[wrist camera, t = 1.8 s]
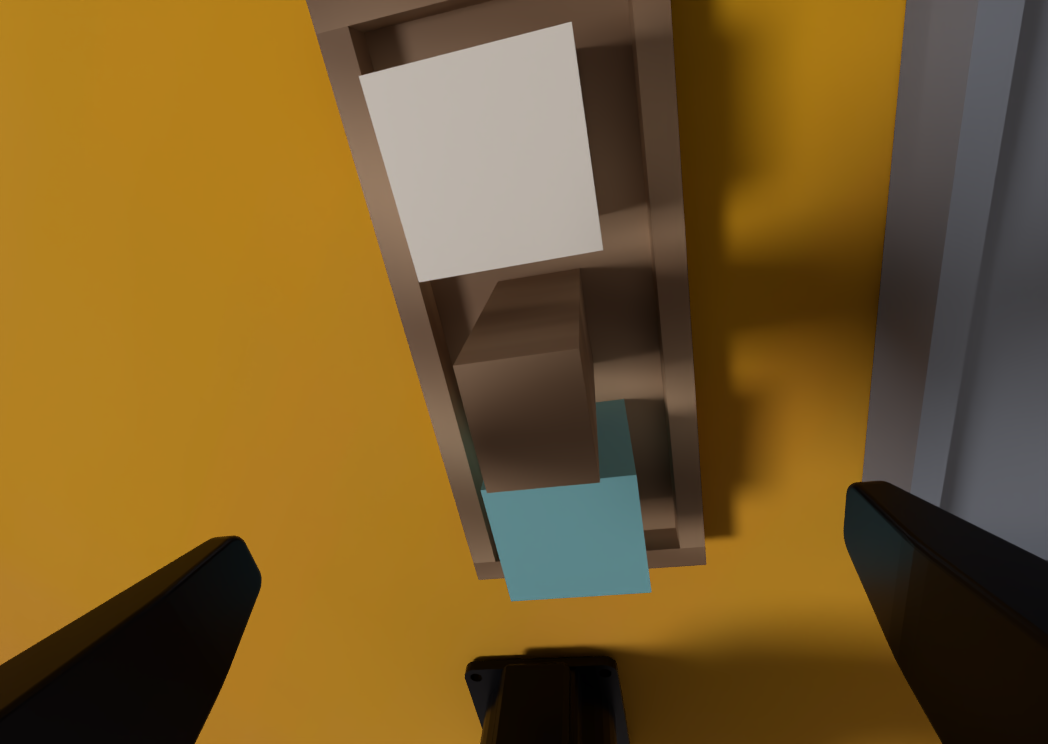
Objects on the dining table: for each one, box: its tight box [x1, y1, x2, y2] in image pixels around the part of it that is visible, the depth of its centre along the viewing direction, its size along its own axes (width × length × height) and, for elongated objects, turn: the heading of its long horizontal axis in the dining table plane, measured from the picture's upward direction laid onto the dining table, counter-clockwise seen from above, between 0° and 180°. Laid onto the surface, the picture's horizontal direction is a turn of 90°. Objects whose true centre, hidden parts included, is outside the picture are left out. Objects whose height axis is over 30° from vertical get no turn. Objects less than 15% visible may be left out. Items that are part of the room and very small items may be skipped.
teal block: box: [481, 399, 651, 601], centre depth 16 cm, size 4×4×4 cm
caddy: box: [306, 0, 706, 580], centre depth 14 cm, size 18×8×7 cm, turn 11°
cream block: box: [359, 22, 603, 282], centre depth 12 cm, size 4×4×4 cm
